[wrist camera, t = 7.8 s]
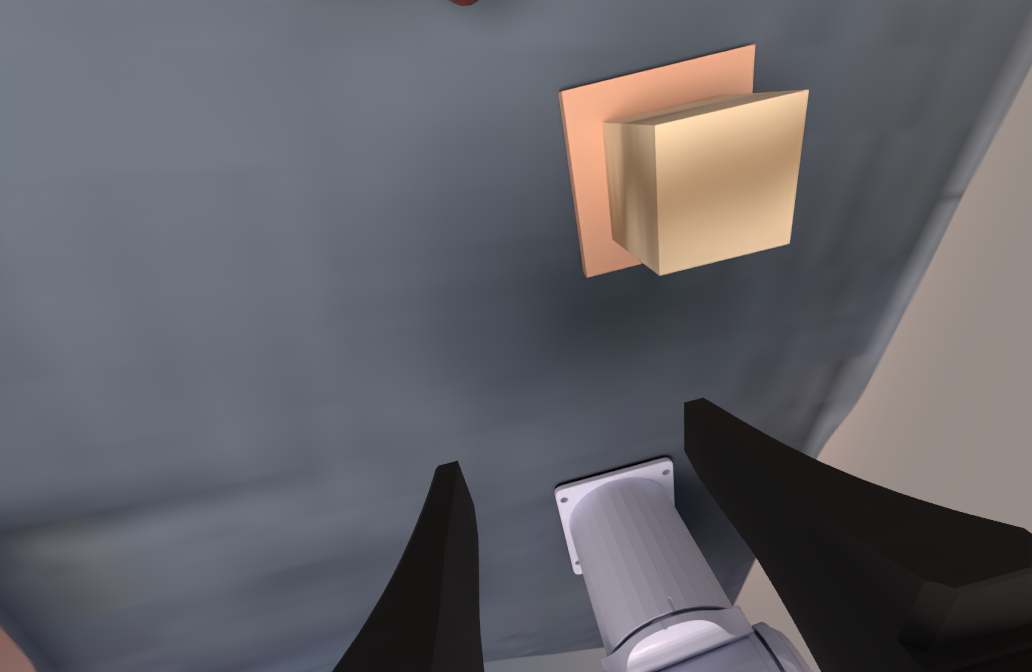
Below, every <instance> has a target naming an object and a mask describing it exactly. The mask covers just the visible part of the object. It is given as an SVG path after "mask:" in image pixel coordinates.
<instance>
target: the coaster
mask: <svg viewBox="0 0 1032 672" xmlns="http://www.w3.org/2000/svg"><path fill="white" fill-rule="evenodd" d="M754 55H755V44H754V45H749V46H745V47H741V48H737V49H732V50H728V51H724V52H720V53H716V54H712V55H708V56H704V57H700V58H696V59H691V60H687V61H683V62H679V63H675V64H671V65H667V66H663V67H659V68H655V69H651V70H646V71H642V72H638V73H634V74H630V75H626V76H622V77H618V78H614V79H610V80H605V81H601V82H597V83H593V84H589V85H585V86H581V87H577V88H573V89H569V90H565V91H560V92H558V94H559V102H560V109H561V116H562V123H563V130H564V137H565V144H566V152H567V159H568V166H569V173H570V180H571V187H572V194H573V202H574V209H575V216H576V223H577V230H578V237H579V244H580V252H581V259H582V266H583V273H584V275H585V276H586V277H587V278H588V277H592V276H596V275H600V274H603V273H607V272H611V271H615V270H619V269H623V268H627V267H631V266H635V265H638V264H642V262H641V261H640V260H638V259H637V258H636V257H634V256H633V255H632V254H630V253H629V252H628V251H626V250H625V249H624V248H623V247H621V246H620V245H619V244H617V243H616V242H615V241H613V240H612V231H611V220H610V208H609V197H608V186H607V174H606V163H605V151H604V140H603V128H602V122H606V121H610V120H615V119H619V118H623V117H628V116H632V115H636V114H641V113H645V112H649V111H653V110H658V109H662V108H666V107H671V106H675V105H679V104H683V103H688V102H692V101H696V100H701V99H705V98H709V97H713V96H718V95H732V94H748V93H752V90H753V72H754Z"/></svg>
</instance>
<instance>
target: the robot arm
mask: <svg viewBox="0 0 1032 672" xmlns="http://www.w3.org/2000/svg"><path fill="white" fill-rule="evenodd" d="M684 451H685V453H686V454H687V456H688V458H689V460H690V462H691V464H692V466H693V467H694V469H695V471H696V473H697V474H698V476H699V478H700V480H701V481H702V483H703V484H704V485H705V487H706V488H707V490H708V491H709V492H710V494H711V495H712V497H713V498H714V499H715V501H716V502H717V503H718V505H719V506H720V508H721V509H722V510H723V512H724V513H725V514H726V516H727V517H728V519H729V520H730V521H731V523H732V524H733V525H734V527H735V528H736V529H737V531H738V532H739V534H740V535H741V536H742V538H743V539H744V540H745V542H746V543H747V545H748V546H749V548H750V549H751V551H752V552H753V554H754V555H755V556H756V558H757V560H758V561H759V563H760V564H761V566H762V568H763V570H764V571H765V573H766V575H767V576H768V578H769V580H770V581H771V583H772V585H773V586H774V588H775V590H776V591H777V593H778V595H779V596H780V598H781V600H782V602H783V603H784V605H785V607H786V609H787V610H788V612H789V614H790V616H791V617H792V619H793V621H794V623H795V624H796V626H797V628H798V630H799V632H800V634H801V635H802V637H803V639H804V641H805V643H806V645H807V646H808V648H809V650H810V652H811V654H812V655H813V657H814V659H815V661H816V663H817V665H818V667H819V669H820V670H821V672H1032V533H1030V532H1028V531H1027V530H1026V529H1024V528H1021V527H1017V526H1013V525H1009V524H1005V523H1001V522H998V521H993V520H990V519H986V518H982V517H978V516H974V515H970V514H967V513H963V512H959V511H956V510H952V509H949V508H945V507H942V506H939V505H935V504H932V503H929V502H926V501H922V500H919V499H916V498H913V497H910V496H907V495H904V494H901V493H898V492H896V491H892V490H890V489H887V488H884V487H882V486H879V485H876V484H873V483H871V482H868V481H865V480H863V479H860V478H858V477H855V476H853V475H850V474H848V473H845V472H843V471H841V470H838V469H836V468H834V467H831V466H829V465H827V464H824V463H822V462H820V461H818V460H816V459H813V458H811V457H809V456H807V455H805V454H803V453H801V452H799V451H797V450H795V449H793V448H791V447H789V446H787V445H785V444H783V443H781V442H779V441H778V440H776V439H774V438H772V437H770V436H768V435H766V434H765V433H763V432H761V431H759V430H757V429H756V428H754V427H752V426H750V425H749V424H747V423H745V422H743V421H742V420H740V419H738V418H737V417H735V416H733V415H732V414H730V413H728V412H727V411H725V410H723V409H721V408H720V407H718V406H716V405H715V404H713V403H711V402H710V401H708V400H706V399H704V398H700V399H696V400H693V401H689V402H685V403H684ZM555 497H556V501H557V505H558V509H559V513H560V517H561V521H562V525H563V530H564V534H565V538H566V542H567V546H568V550H569V554H570V558H571V562H572V567H573V570H574V573H576V574H583V576H584V579H585V583H586V586H587V590H588V593H589V596H590V600H591V603H592V606H593V610H594V613H595V617H596V620H597V623H598V627H599V630H600V633H601V637H602V640H603V643H604V647H605V650H606V654H607V657H605V658H603V659H601V663H602V667H603V670H604V672H813V671H812V670H811V669H810V667H809V666H808V664H807V663H806V661H805V660H804V659H803V657H802V656H801V654H800V653H799V652H798V650H797V649H796V648H795V646H794V645H793V644H792V643H791V642H790V640H789V639H788V638H787V637H786V636H785V635H784V634H783V633H781V632H779V631H777V630H775V629H773V628H771V627H769V626H768V625H767V624H766V623H764V622H760V623H757V624H755V625H752V627H751V625H750V623H749V622H748V620H747V618H746V617H745V615H744V613H743V612H742V610H741V608H740V607H739V606H734V607H733V606H732V605H731V603H730V601H729V600H728V598H727V596H726V594H725V593H724V591H723V589H722V588H721V586H720V584H719V582H718V581H717V579H716V577H715V575H714V574H713V572H712V570H711V569H710V567H709V565H708V563H707V562H706V560H705V558H704V557H703V555H702V553H701V551H700V550H699V548H698V546H697V544H696V543H695V541H694V539H693V538H692V536H691V534H690V532H689V531H688V529H687V527H686V526H685V524H684V522H683V520H682V519H681V517H680V515H679V513H678V512H677V510H676V508H675V506H674V478H673V463H672V461H671V460H670V459H669V458H661V459H657V460H653V461H650V462H646V463H642V464H639V465H635V466H631V467H628V468H624V469H620V470H617V471H613V472H609V473H605V474H602V475H598V476H594V477H591V478H587V479H583V480H580V481H576V482H572V483H569V484H565V485H561V486H559V487H557V488H556V489H555ZM564 497H565V498H564ZM332 672H484V666H483V655H482V645H481V635H480V617H479V549H478V532H477V523H476V516H475V508H474V504H473V501H472V498H471V495H470V493H469V490H468V487H467V485H466V482H465V479H464V477H463V474H462V471H461V468H460V466H459V463H458V461H455V462H451V463H447V464H443V465H440V466H438V467H437V468H436V470H435V474H434V477H433V480H432V483H431V486H430V489H429V492H428V495H427V498H426V501H425V503H424V506H423V509H422V511H421V514H420V516H419V519H418V521H417V524H416V526H415V529H414V531H413V534H412V536H411V538H410V540H409V542H408V545H407V547H406V549H405V551H404V553H403V555H402V558H401V560H400V562H399V564H398V566H397V568H396V570H395V572H394V574H393V576H392V578H391V579H390V581H389V583H388V585H387V587H386V589H385V590H384V592H383V594H382V596H381V598H380V599H379V601H378V603H377V604H376V606H375V608H374V609H373V611H372V613H371V614H370V616H369V618H368V619H367V621H366V623H365V624H364V626H363V627H362V629H361V630H360V632H359V633H358V635H357V637H356V638H355V640H354V641H353V642H352V644H351V645H350V647H349V648H348V650H347V651H346V652H345V654H344V655H343V657H342V658H341V660H340V661H339V662H338V664H337V665H336V667H335V668H334V670H333V671H332Z"/></svg>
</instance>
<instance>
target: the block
mask: <svg viewBox="0 0 1032 672" xmlns="http://www.w3.org/2000/svg"><path fill="white" fill-rule="evenodd" d="M808 93H809V89H808V90H793V91H778V92H763V93H748V94H732V95H718V96H713V97H709V98H705V99H701V100H696V101H692V102H688V103H683V104H679V105H675V106H671V107H666V108H662V109H658V110H653V111H649V112H645V113H641V114H636V115H632V116H628V117H623V118H619V119H615V120H610V121H606V122H602V128H603V140H604V151H605V163H606V174H607V186H608V197H609V208H610V220H611V231H612V240H613V241H615V242H616V243H617V244H619V245H620V246H621V247H623V248H624V249H625V250H626V251H628V252H629V253H630V254H632V255H633V256H634V257H636V258H637V259H638V260H640V261H641V262H642V263H644V264H645V265H646V266H648V267H649V268H650V269H651V270H653V271H654V272H655V273H657V274H658V275H659V276H660V275H664V274H668V273H673V272H677V271H681V270H685V269H689V268H693V267H697V266H701V265H705V264H709V263H713V262H717V261H721V260H725V259H729V258H733V257H737V256H741V255H745V254H750V253H754V252H758V251H762V250H766V249H770V248H774V247H778V246H782V245H786V244H790V236H791V228H792V220H793V212H794V204H795V196H796V188H797V180H798V172H799V164H800V156H801V148H802V140H803V132H804V125H805V117H806V109H807V101H808Z"/></svg>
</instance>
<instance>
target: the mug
mask: <svg viewBox="0 0 1032 672" xmlns="http://www.w3.org/2000/svg"><path fill="white" fill-rule="evenodd" d="M450 1H451V2H453V3H455V4H457V5H461V6H467V5H472V4H474V3H475V2H477V1H478V0H450Z"/></svg>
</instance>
